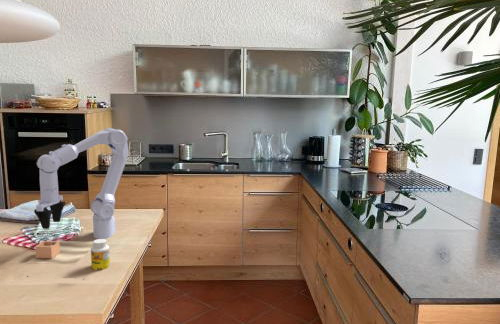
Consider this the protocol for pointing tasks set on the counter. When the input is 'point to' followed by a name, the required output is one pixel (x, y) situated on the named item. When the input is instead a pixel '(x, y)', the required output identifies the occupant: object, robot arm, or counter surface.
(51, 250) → the orange hollow cube
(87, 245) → the beige base plate
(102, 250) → the supplement bottle
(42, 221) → the robot arm
